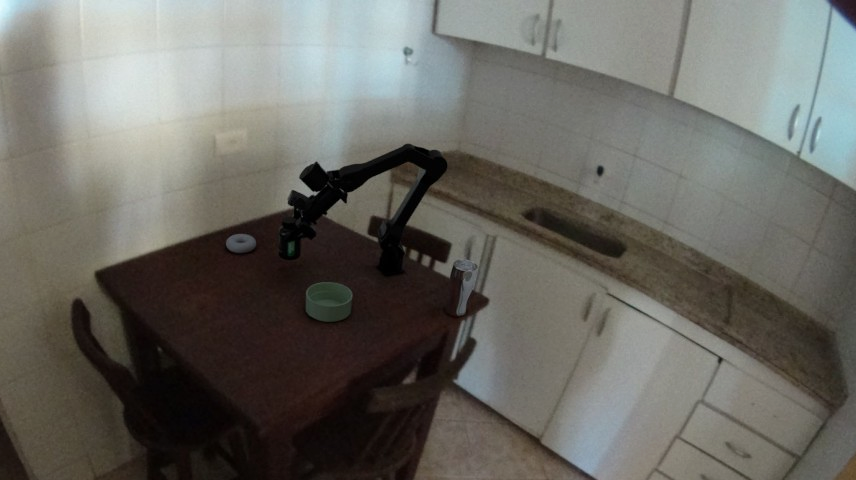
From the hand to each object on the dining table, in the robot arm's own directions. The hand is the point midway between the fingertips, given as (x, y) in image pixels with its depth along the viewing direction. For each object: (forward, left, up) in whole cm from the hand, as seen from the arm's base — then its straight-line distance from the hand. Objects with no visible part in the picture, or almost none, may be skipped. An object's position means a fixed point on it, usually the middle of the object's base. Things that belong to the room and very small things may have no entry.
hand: (285, 236), depth 186 cm
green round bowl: (-2, +27, -11) cm, 29 cm away
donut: (+8, -18, -12) cm, 23 cm away
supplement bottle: (-1, +1, -7) cm, 7 cm away
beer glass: (-36, +41, -12) cm, 56 cm away
